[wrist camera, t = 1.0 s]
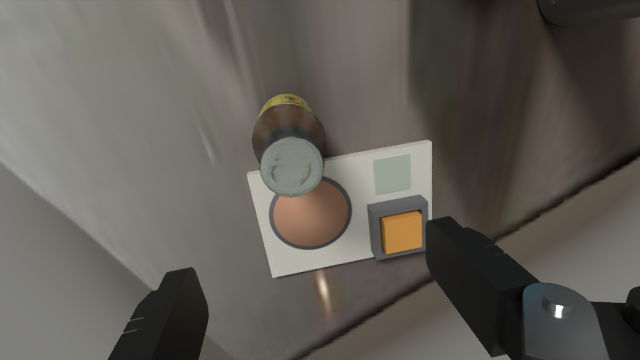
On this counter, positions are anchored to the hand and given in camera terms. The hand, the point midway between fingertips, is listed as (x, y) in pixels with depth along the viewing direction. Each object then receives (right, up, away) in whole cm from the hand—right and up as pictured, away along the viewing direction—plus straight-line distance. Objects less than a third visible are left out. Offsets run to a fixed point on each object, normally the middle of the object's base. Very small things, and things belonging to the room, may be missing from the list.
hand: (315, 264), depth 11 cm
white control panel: (+4, -1, +32) cm, 33 cm away
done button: (+11, -4, +32) cm, 34 cm away
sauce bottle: (-4, +11, +27) cm, 29 cm away
